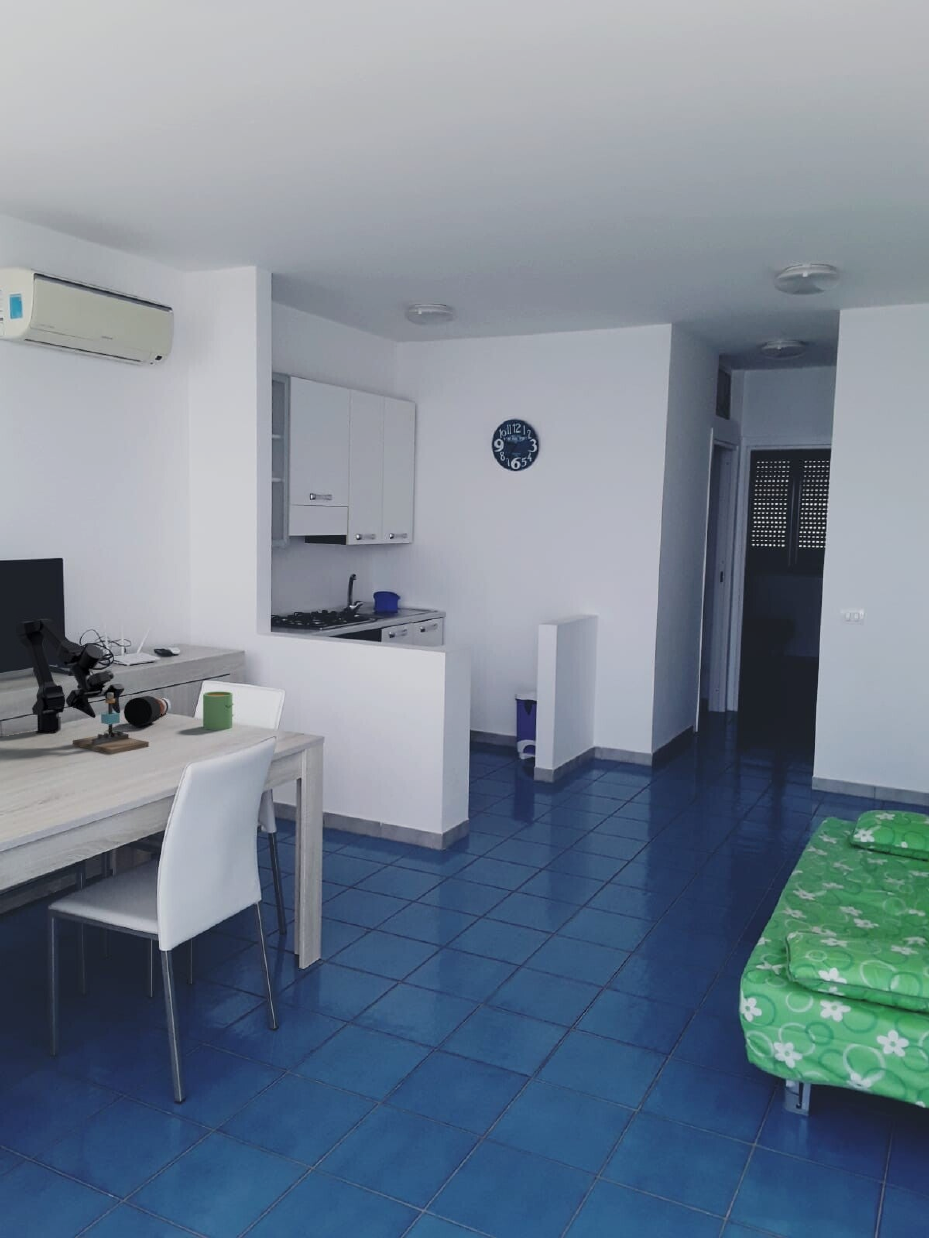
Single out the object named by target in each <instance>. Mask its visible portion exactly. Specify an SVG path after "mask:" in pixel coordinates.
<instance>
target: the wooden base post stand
mask: <svg viewBox="0 0 929 1238" xmlns="http://www.w3.org/2000/svg"><path fill="white" fill-rule="evenodd" d="M104 700H105V701H104V703H105V704H107V705H108V707H107V708H108V711H107V713H108V714H112V712H113V708H112V703H115V699H114V693H107V699H106V698H104ZM149 743H150V742H149V741H145V740H142V739H141V740H140V739H138V738H137V739H136V738H133V737H129V733H127V732H126V733H125V732H124V731H122V730H116V731H113V724H110V725H108V732H104V733H103V734H101V733H98V734H97V735H93V736H89V737H84V738H79V739H73V740H72V746H75V747H78V748H79V747H81V748H85V749H88V750H93V751H97V752H102V753H106V754H109V755H114V754H119V753H124V752H128V751H135V750H139V749H143V748H148V747H150V746H149V745H150V744H149Z"/></svg>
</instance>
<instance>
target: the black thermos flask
mask: <svg viewBox="0 0 929 1238" xmlns="http://www.w3.org/2000/svg"><path fill="white" fill-rule="evenodd" d="M171 708H172V704H171V701H170V700H169V699H168V698H164V697H162V698H160V697H159V698H155V697H154V696H150V695H144V696H139V697H134V698H131V699H129V700H128V701H127V702H126V704H125V705H124V708H123V716H124V719H125V720H126V722H128V724H129V725H132V726H135V727H142V726H146V725H149V724H152V723H154V722H156V721H157V720H158V719H159V718H160V717H161V716H162V715H164V714H167V713H169V712H170V710H171ZM161 714H162V715H161Z"/></svg>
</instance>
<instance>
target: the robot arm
mask: <svg viewBox="0 0 929 1238" xmlns="http://www.w3.org/2000/svg"><path fill="white" fill-rule="evenodd" d="M15 633H16V635H17V637H18V640H19V642H20V643H21V644H22V645H23V646H24V647H25V648H26V649H27V651H28V655H29V658H30V661H31V665H32V668H33V672H34V674H35V675H34V676H35V679H36V682H37V686H38V690H37V693H36V702H35V703H34V704H33V706H32V707H31V711H32V714H33V715H35V716H37V719H36V721H37V723H36V725H37V730H35V733H37V734H39V733H41V734H42V733H45V734H46V733H50V734H52V733H53V734H55V733H57V732H59V731H60V730H61V729H62V728H61V727H62V725H61V724H62V723H61V722H62V721H61V716H60V713H63V712H64V709H65V705H67V707H68V708H72V709H76V710H78V711H80V712H82V713H83V714H86V715H87V716H89V717H90V718H92V719H95V718H96V716H97V715H96V713H95V711H94V709H93V707H92V705H91V704H90V702H89V699H97V698H103V697H104V699H107V693H114V699H115V703H112V710H114V711H113V712H114V713H119V714H120V713H121V706H120V696H121V695H122V694H123V692H124V691H125V688H124V686H123V684H122V683H115V684H114V683H113V684H110V685H109V686H108V687H107V689H103V688H105V687H106V686H107V685H106V683H108V682H111V681H112V680H113V679H114V673H113V671H112V670H111V669H106V670H104V671H102V672H101V671H99V672H95V673H94V672H93V669H95V668H96V667H97V665H98V664H99V662H100V661H101V659H102V657H103V656H104V652H103V649H101V648H100V647H99V646H97V645H95V644H93V643H92V642H87V643H86V644H85V645H84V647H82V646H81V644H79V643H77V642H74V641H71V640H69V639H68V637H66V635H65V634H63V632H62V631H61V630H59V628H58V627H57V626H56V625H55V624H54V620H52V619H50V618H40V619H37V620H33V621H20V622H19V623H18V625H17V626H16V628H15ZM45 639H46V640H47V641H48V642H49V643H50V644H51V646H53V647H54V649H55V650H56V651H57V658H58V659H59V661H60V662H61V663H62V664H63V666H70V665H72V666H71V667H69V671H68V674H67V675H68V677H74V679H75V680H76V682H77V684H78V685H76V689H72V690H71V691H70V692H69V695H68V696H67V697H66V695H65V692H64V690H63V687H62V685H60V684H59V685H57V684H56V683H55V681H54V677H53V676H52V672H51V668H50V665H49V662H48V658H47V655H46V652H45V648H44V645H43V644H44V643H43V642H44V640H45ZM65 697H66V698H65Z"/></svg>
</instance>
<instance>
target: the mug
mask: <svg viewBox="0 0 929 1238" xmlns="http://www.w3.org/2000/svg"><path fill="white" fill-rule="evenodd" d="M202 700H203V701H202V707H203V708H202V728H203V730H207V729H210V730H209V731H225V730H230V729H232V728H233V717H234V714H233V706H234V703H233V693H232V692H230V691H220V690H219V691H207V692H204V693H202Z"/></svg>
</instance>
